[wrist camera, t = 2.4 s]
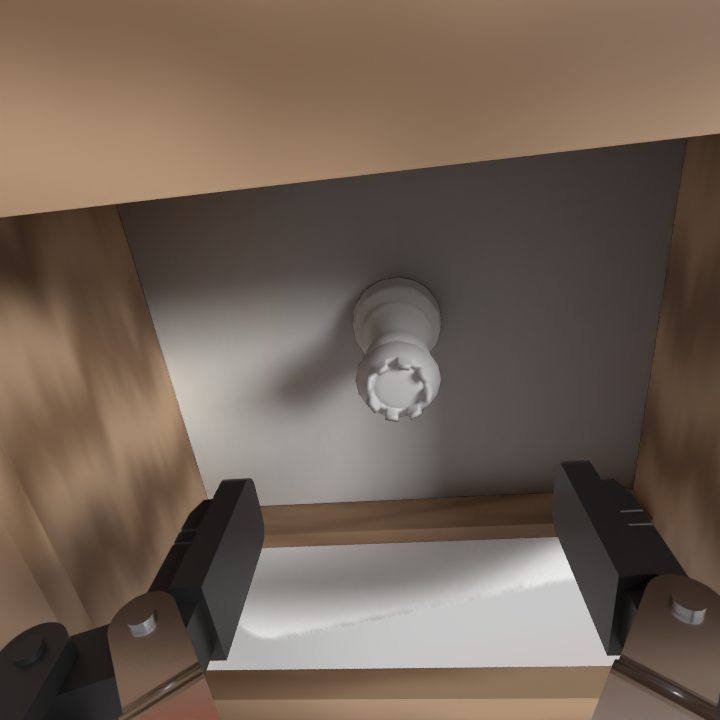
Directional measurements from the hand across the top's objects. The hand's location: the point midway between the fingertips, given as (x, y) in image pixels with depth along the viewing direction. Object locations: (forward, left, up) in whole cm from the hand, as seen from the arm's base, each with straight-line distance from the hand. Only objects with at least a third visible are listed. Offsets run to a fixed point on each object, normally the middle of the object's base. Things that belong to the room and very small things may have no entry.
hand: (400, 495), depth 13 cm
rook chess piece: (0, 0, -14) cm, 14 cm away
